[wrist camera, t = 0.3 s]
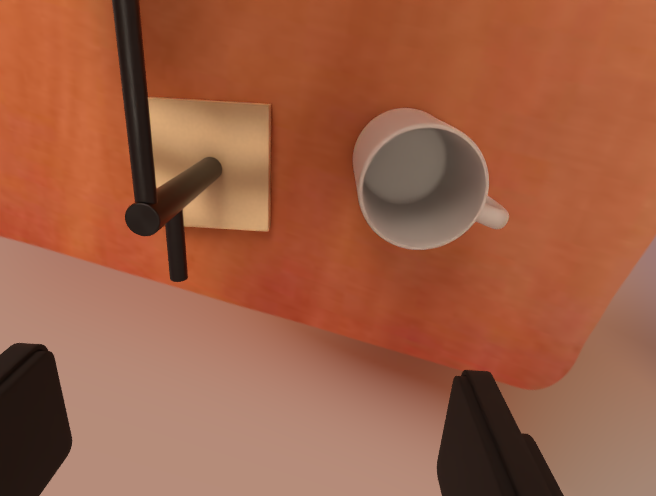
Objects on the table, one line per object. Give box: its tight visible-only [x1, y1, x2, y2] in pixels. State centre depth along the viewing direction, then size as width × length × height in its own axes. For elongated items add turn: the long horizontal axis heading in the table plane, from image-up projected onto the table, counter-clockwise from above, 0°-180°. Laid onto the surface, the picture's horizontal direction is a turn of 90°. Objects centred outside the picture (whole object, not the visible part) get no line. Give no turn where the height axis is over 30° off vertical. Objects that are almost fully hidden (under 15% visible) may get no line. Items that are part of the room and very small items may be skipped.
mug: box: [353, 108, 509, 250], centre depth 33 cm, size 12×8×11 cm
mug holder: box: [112, 0, 271, 282], centre depth 30 cm, size 19×10×15 cm, turn 177°
